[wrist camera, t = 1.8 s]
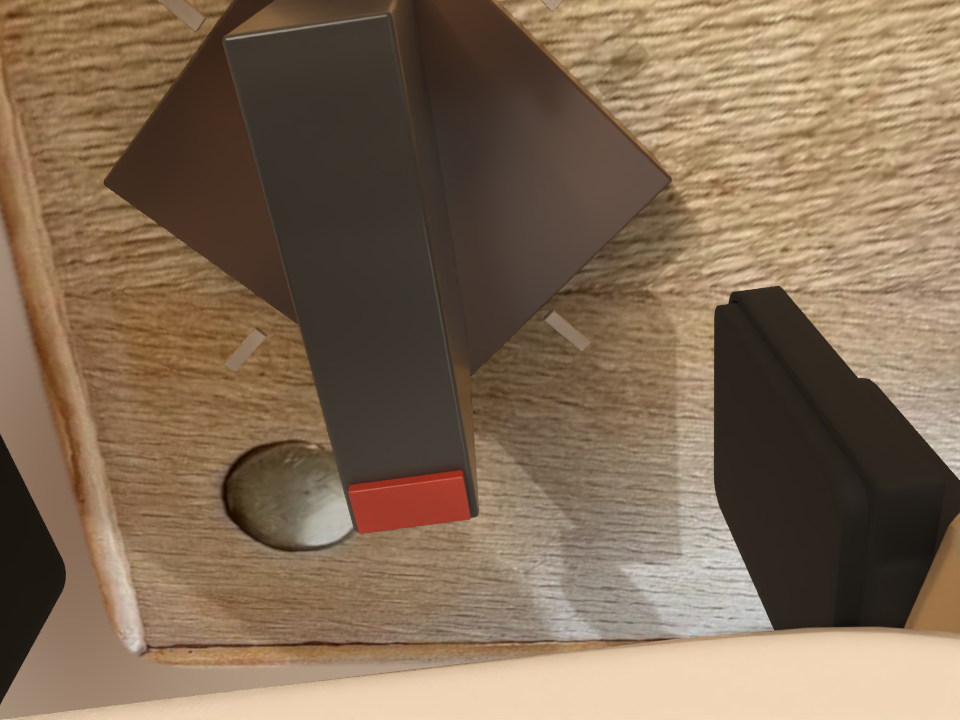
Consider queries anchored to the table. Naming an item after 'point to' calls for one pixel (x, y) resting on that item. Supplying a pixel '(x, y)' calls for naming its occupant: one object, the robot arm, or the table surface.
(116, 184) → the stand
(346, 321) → the dark grey flat block
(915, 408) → the table surface
